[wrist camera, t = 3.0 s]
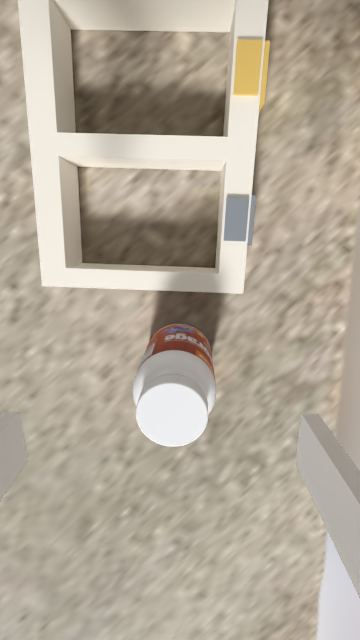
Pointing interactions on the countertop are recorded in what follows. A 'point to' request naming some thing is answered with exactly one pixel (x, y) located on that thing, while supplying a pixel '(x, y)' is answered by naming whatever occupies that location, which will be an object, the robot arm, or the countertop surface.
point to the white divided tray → (140, 136)
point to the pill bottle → (175, 386)
